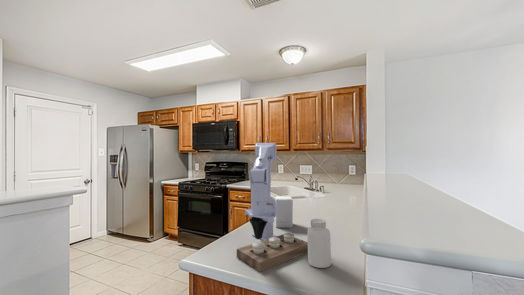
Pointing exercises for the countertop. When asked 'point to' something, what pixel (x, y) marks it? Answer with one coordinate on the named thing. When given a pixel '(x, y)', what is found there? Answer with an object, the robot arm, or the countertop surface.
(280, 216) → the supplement box
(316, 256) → the pill bottle
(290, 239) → the outer knob
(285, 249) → the knob board
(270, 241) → the middle knob
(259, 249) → the outer knob
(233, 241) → the countertop surface
